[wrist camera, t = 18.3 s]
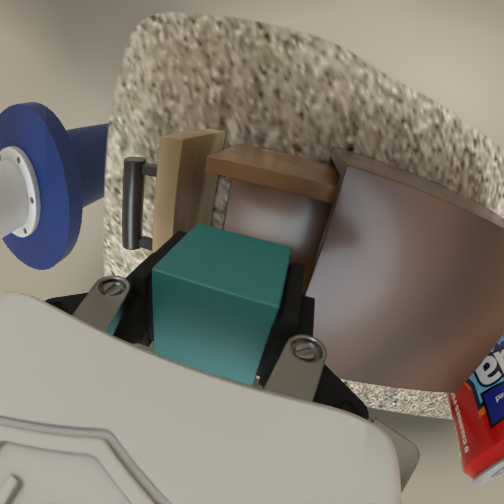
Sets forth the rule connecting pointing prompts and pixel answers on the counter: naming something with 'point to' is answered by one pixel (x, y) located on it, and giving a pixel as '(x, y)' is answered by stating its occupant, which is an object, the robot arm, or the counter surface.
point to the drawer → (230, 193)
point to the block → (218, 300)
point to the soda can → (481, 418)
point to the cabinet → (406, 279)
